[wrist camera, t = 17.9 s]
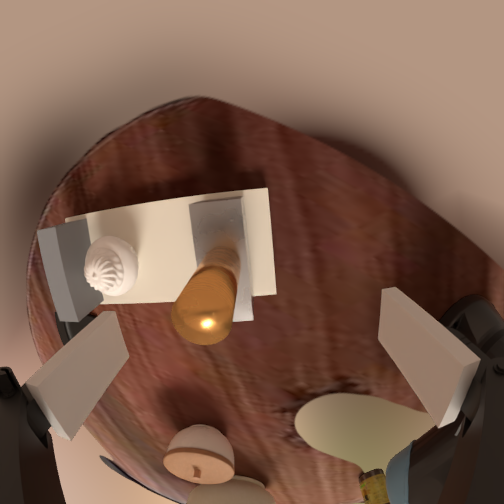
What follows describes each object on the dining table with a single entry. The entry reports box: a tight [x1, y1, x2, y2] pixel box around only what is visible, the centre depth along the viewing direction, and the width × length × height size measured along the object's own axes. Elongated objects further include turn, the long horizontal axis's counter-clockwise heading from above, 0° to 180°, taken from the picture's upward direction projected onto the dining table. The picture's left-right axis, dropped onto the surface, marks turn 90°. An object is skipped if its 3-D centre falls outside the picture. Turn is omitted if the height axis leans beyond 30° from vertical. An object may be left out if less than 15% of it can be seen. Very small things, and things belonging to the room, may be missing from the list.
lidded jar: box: [163, 424, 235, 484], centre depth 33 cm, size 11×11×9 cm
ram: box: [171, 196, 254, 345], centre depth 20 cm, size 4×10×15 cm, turn 5°
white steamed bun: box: [84, 236, 139, 296], centre depth 25 cm, size 6×6×7 cm
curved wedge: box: [55, 312, 96, 346], centre depth 33 cm, size 8×14×2 cm, turn 177°
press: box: [37, 188, 276, 322], centre depth 26 cm, size 24×11×8 cm, turn 95°
